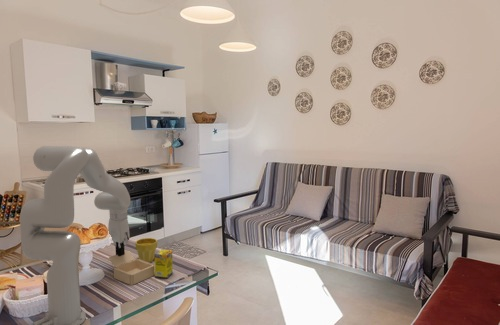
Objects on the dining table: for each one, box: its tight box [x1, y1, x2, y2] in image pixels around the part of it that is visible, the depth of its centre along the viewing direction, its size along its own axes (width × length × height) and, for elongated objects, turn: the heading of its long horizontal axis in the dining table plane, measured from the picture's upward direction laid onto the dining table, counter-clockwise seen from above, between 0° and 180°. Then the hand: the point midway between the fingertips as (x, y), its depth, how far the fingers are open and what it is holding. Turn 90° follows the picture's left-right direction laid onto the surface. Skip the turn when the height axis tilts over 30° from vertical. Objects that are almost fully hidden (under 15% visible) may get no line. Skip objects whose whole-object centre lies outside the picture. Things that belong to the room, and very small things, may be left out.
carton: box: [113, 258, 155, 286], centre depth 153 cm, size 13×13×5 cm
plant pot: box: [134, 237, 158, 263], centre depth 171 cm, size 10×10×10 cm
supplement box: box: [154, 249, 174, 280], centre depth 154 cm, size 6×6×11 cm
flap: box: [108, 250, 136, 268], centre depth 158 cm, size 11×6×1 cm
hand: (120, 254), depth 159 cm, fingers closed
